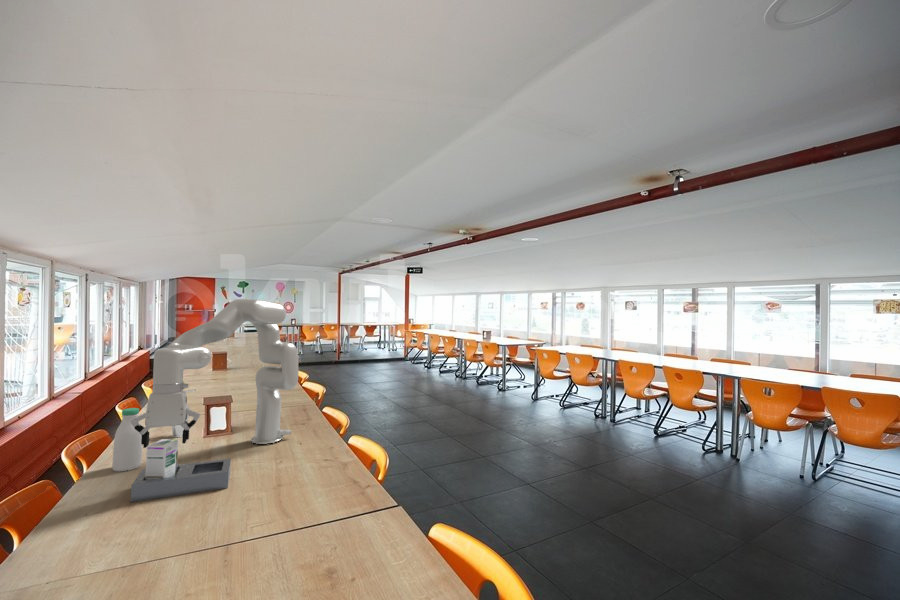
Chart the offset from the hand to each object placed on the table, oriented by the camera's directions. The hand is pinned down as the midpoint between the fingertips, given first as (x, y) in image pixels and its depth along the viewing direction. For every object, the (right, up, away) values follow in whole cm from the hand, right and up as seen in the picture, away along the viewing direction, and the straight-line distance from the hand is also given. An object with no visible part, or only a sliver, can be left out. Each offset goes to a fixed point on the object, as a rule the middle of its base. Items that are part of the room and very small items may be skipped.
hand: (165, 444), depth 118 cm
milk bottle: (-24, -14, +14) cm, 31 cm away
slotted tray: (+5, -14, +2) cm, 15 cm away
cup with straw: (-30, -15, +48) cm, 58 cm away
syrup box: (-1, -14, -1) cm, 14 cm away
